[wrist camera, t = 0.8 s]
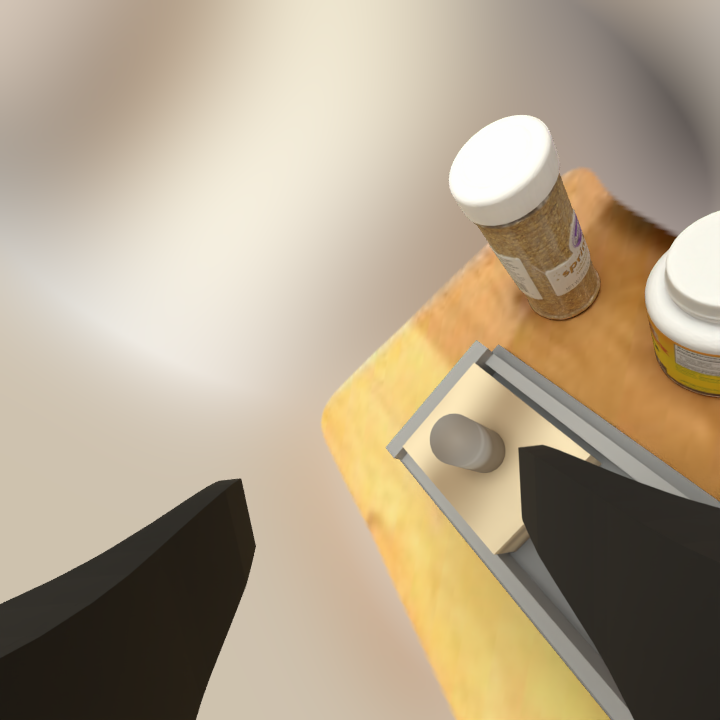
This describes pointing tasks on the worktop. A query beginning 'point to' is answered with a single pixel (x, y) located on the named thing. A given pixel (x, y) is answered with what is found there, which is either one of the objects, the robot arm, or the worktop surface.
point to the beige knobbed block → (484, 455)
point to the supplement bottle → (688, 307)
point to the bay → (524, 566)
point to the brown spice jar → (526, 214)
